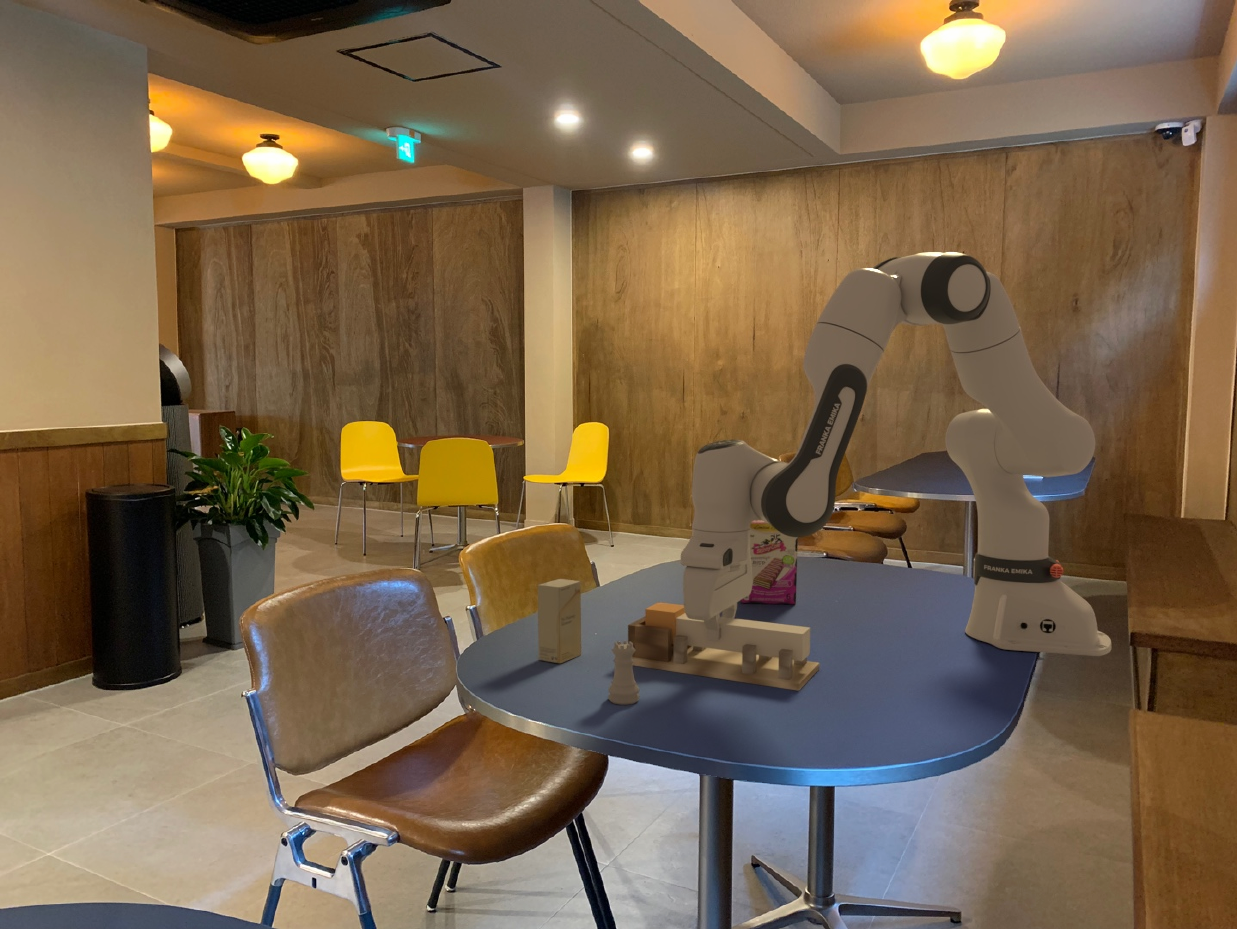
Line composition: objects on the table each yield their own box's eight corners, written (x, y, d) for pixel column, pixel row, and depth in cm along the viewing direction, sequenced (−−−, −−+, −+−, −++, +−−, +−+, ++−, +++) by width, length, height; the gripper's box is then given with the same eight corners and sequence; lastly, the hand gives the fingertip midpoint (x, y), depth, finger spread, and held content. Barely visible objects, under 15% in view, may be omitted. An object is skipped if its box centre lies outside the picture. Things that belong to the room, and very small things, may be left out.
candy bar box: (740, 604, 179) (741, 522, 178) (739, 598, 184) (740, 518, 183) (797, 605, 178) (798, 522, 177) (795, 599, 183) (796, 519, 182)
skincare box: (559, 665, 141) (559, 587, 140) (537, 660, 143) (536, 584, 142) (582, 654, 146) (582, 580, 145) (560, 650, 148) (559, 577, 147)
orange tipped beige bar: (810, 653, 135) (811, 620, 135) (801, 662, 131) (802, 628, 130) (658, 632, 147) (658, 602, 146) (645, 640, 142) (645, 609, 142)
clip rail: (819, 669, 138) (819, 630, 137) (799, 690, 128) (799, 649, 128) (652, 645, 151) (652, 610, 150) (622, 663, 141) (622, 626, 140)
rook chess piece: (615, 707, 122) (615, 649, 121) (602, 697, 126) (602, 641, 125) (645, 703, 124) (645, 645, 123) (631, 693, 128) (631, 637, 127)
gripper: (725, 535, 148) (724, 617, 150) (675, 556, 130) (675, 650, 131) (762, 538, 146) (761, 622, 147) (716, 559, 127) (716, 655, 129)
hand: (720, 635), depth 139 cm, fingers closed on orange tipped beige bar, 4 cm apart
